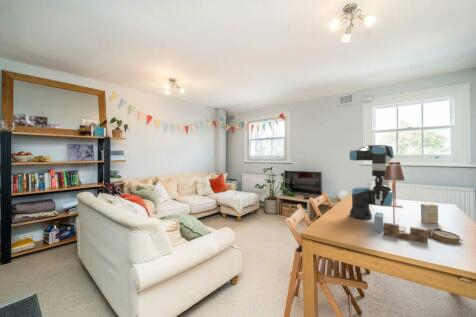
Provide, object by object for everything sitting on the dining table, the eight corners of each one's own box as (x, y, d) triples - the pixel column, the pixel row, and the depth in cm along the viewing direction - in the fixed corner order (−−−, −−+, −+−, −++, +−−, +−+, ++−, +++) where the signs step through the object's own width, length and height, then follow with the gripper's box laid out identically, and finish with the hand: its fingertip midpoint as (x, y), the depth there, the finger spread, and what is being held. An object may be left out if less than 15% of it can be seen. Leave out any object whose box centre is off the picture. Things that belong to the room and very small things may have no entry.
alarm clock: (452, 240, 110) (421, 226, 124) (450, 248, 111) (419, 233, 125) (465, 237, 113) (433, 224, 127) (463, 245, 114) (432, 231, 128)
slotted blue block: (382, 232, 129) (381, 217, 129) (374, 231, 131) (374, 215, 131) (383, 228, 137) (383, 213, 136) (376, 226, 139) (375, 212, 139)
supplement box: (432, 221, 149) (432, 203, 148) (438, 223, 144) (438, 205, 144) (420, 221, 149) (420, 203, 149) (425, 223, 145) (425, 205, 144)
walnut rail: (383, 234, 126) (383, 223, 125) (383, 233, 128) (383, 222, 128) (427, 243, 113) (427, 230, 113) (427, 241, 115) (427, 229, 115)
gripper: (384, 171, 121) (384, 207, 122) (387, 169, 141) (387, 199, 141) (369, 171, 126) (369, 205, 126) (374, 168, 145) (374, 198, 146)
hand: (378, 202), depth 134 cm, fingers open, 13 cm apart
